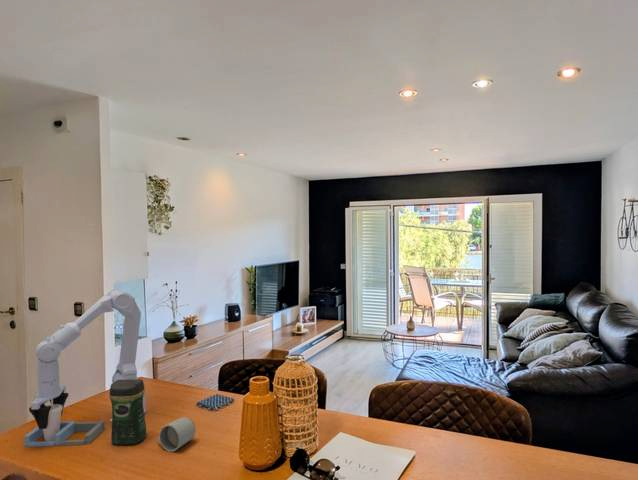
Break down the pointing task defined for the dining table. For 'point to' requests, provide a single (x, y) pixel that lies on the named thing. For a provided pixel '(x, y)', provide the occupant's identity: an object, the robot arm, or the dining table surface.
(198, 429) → the dining table surface
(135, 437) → the coffee jar
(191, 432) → the grey hollow cylinder
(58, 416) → the smoothie
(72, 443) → the frame
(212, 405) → the woven mat
